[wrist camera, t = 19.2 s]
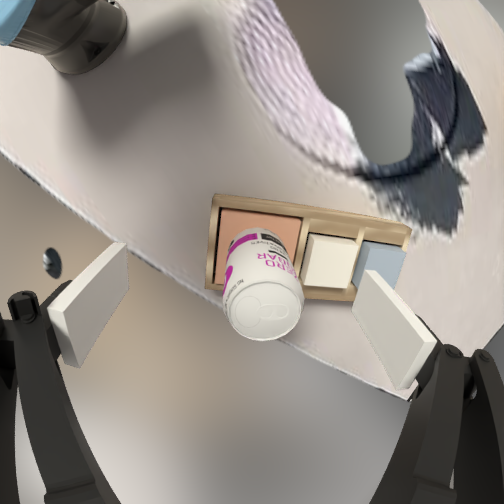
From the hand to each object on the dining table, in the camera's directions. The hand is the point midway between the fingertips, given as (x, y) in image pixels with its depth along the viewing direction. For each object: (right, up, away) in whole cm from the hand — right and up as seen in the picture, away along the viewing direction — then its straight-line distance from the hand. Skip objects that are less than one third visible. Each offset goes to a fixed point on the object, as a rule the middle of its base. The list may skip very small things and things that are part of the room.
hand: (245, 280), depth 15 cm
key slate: (+21, 0, +30) cm, 36 cm away
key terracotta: (+1, +3, +30) cm, 30 cm away
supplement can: (+1, +1, +26) cm, 26 cm away
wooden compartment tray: (+10, +2, +31) cm, 32 cm away
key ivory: (+12, +1, +29) cm, 31 cm away
